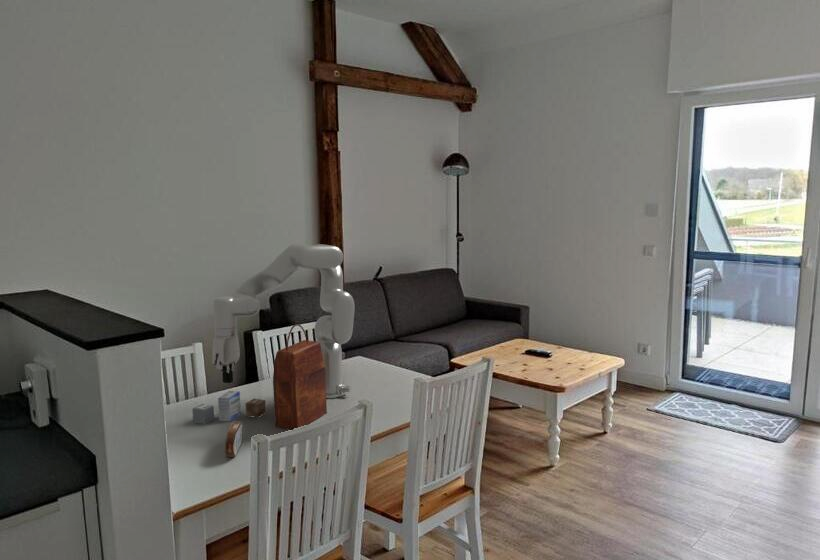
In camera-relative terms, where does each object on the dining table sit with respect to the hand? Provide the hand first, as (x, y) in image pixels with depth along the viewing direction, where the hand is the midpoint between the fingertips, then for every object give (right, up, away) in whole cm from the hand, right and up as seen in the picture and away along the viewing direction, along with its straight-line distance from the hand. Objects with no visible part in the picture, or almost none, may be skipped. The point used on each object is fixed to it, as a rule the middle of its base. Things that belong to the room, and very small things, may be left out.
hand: (227, 382), depth 209 cm
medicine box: (0, -13, +2) cm, 13 cm away
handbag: (+26, -13, 0) cm, 29 cm away
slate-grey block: (-8, -14, -1) cm, 16 cm away
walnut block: (+9, -13, +5) cm, 16 cm away
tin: (+10, -17, -26) cm, 33 cm away
